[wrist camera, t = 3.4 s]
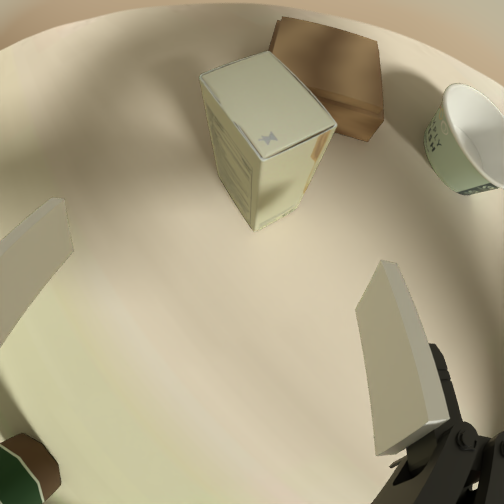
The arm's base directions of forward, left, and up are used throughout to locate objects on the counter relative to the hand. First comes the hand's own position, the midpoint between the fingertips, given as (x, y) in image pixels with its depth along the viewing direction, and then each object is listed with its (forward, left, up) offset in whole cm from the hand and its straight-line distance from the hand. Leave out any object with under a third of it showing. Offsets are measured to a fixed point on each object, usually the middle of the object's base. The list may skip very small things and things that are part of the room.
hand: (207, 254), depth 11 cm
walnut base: (-5, -21, -12) cm, 24 cm away
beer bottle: (+17, +25, -12) cm, 33 cm away
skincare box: (-1, -8, -12) cm, 14 cm away
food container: (-22, -18, -12) cm, 31 cm away
